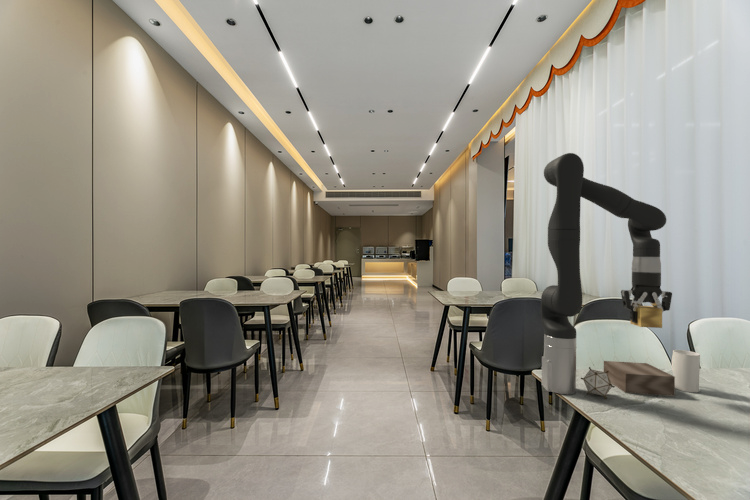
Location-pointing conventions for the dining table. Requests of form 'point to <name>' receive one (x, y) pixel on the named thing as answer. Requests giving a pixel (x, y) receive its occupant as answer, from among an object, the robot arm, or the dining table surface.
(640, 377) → the riser
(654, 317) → the ochre block
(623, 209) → the robot arm
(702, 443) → the dining table surface
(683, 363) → the mug
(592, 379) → the game die
